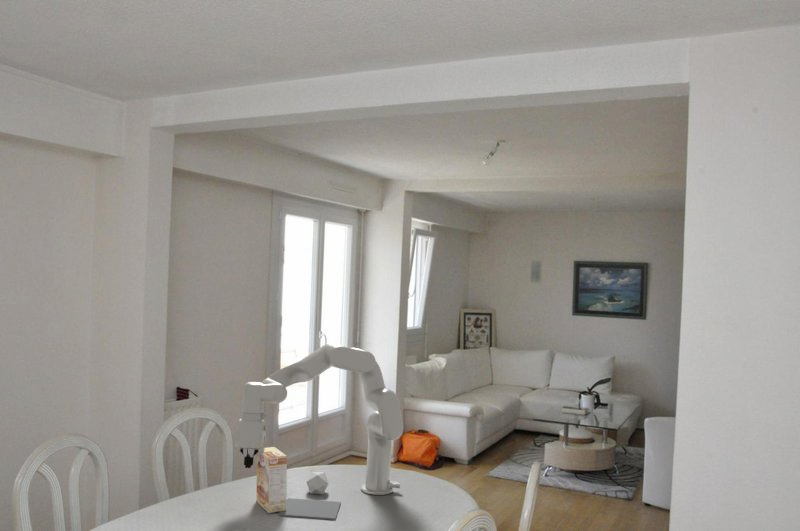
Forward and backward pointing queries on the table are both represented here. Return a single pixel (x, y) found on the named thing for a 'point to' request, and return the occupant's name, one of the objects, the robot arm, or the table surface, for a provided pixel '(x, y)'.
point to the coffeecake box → (272, 479)
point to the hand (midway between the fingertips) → (248, 467)
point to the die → (317, 483)
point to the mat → (311, 509)
